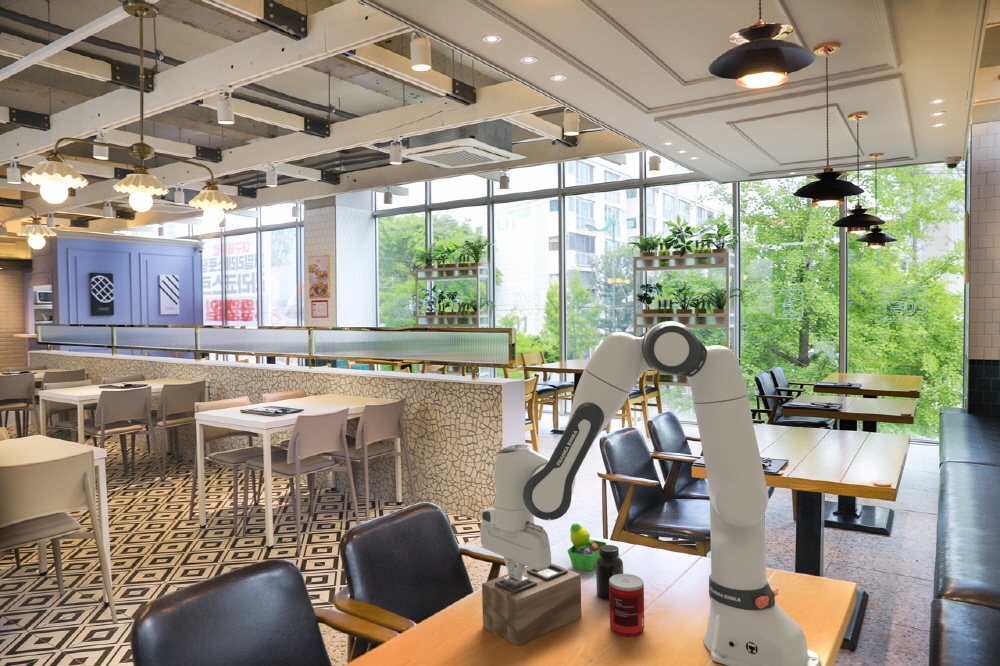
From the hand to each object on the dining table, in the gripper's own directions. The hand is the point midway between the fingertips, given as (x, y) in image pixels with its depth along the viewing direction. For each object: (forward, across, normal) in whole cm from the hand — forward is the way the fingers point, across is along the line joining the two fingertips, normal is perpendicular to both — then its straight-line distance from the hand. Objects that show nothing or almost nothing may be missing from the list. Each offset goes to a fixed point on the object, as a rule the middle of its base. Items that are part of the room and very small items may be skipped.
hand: (515, 577), depth 149 cm
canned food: (+12, -17, -18) cm, 28 cm away
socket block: (+12, 0, -5) cm, 13 cm away
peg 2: (+11, 0, -10) cm, 15 cm away
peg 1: (+9, 0, 0) cm, 9 cm away
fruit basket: (+12, +15, -40) cm, 44 cm away
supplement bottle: (+12, -3, -29) cm, 32 cm away
